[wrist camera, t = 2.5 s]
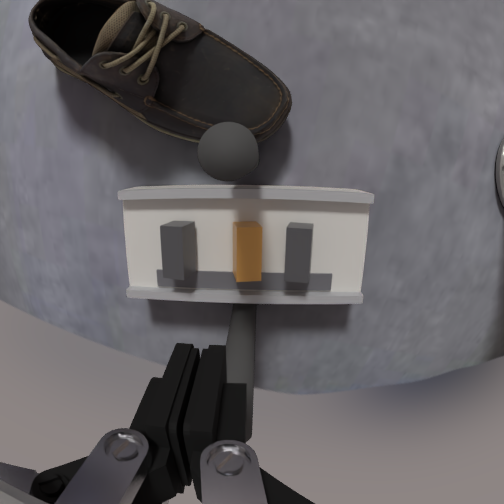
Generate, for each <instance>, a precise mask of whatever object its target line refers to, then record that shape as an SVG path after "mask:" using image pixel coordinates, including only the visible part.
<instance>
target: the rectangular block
mask: <svg viewBox="0 0 504 504" xmlns="http://www.w3.org/2000/svg"><path fill="white" fill-rule="evenodd" d="M261 270H262V226H261V225H260V224H259V223H257V222H256V221H245V222H233V274H234V277H235V279H236V282H248V281H261Z"/></svg>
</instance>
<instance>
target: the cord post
mask: <svg viewBox="0 0 504 504" xmlns="http://www.w3.org/2000/svg"><path fill="white" fill-rule="evenodd" d="M255 331H256V304H252V303H234V305H233V310H232V316H231V321H230V326H229V332H228V337H227V342H226V365H227V383H247V411H246V442H247V441H248V440H249V439H250V438H251V436H252V417H253V416H252V415H253V389H254V361H255Z"/></svg>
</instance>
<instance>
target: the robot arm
mask: <svg viewBox="0 0 504 504" xmlns="http://www.w3.org/2000/svg"><path fill="white" fill-rule="evenodd" d="M496 183H497V190H498V193H499V197H500V200H501V203H502V205H503V207H504V138H503V140H502V142H501V144H500V147H499V150H498V154H497V160H496ZM246 411H247V383H227V365H226V346H225V345H209V348H208V349H203V350H202V354H201V358H200V353H199V349H198V348H194V346H193V344H184V343H177V344H176V345H175V348H174V350H173V353H172V355H171V358H170V360H169V362H168V365H167V367H166V370H165V372H164V375H163V378H156V377H153V378H152V379H151V380H150V382H149V385H148V387H147V389H146V391H145V394H144V396H143V398H142V400H141V403H140V405H139V407H138V410H137V412H136V414H135V417H134V419H133V421H132V423H131V426H130V428H129V429H127V428H124V429H123V428H121V429H116V430H112V431H110V432H108V433H107V434H105V435H104V436H103V437H102V438H101V440H100V441H99V442H98V444H97V445H96V446H95V448H94V449H93V450H92V452H91V453H90V455H89V456H87V457H84V458H81V459H79V460H76V461H73V462H70V463H67V464H64V465H62V466H58V467H55V468H52V469H49V470H46V471H43V472H41V473H40V474H39V473H37V472H36V470H32V469H27V468H23V467H18V466H14V465H10V464H6V463H2V462H0V504H168V502H169V499H171V498H173V497H175V496H176V494H177V493H183V492H184V487H185V485H186V486H190V485H191V481H192V479H193V483H194V488H195V491H196V495H197V499H199V500H200V501H201V502H202V504H315V503H313V502H311V501H310V500H308V499H306V498H305V497H303V496H302V495H300V494H298V493H297V492H295V491H293V490H292V489H291V488H289V487H288V486H286V485H284V484H283V483H282V482H280V481H279V480H277V479H276V478H274V477H273V476H271V475H270V474H268V473H267V472H266V471H264V470H263V469H261V468H260V467H259V463H258V459H257V456H256V453H255V451H254V450H253V449H252V448H251V447H250V446H248V445H247V444H246Z"/></svg>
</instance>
